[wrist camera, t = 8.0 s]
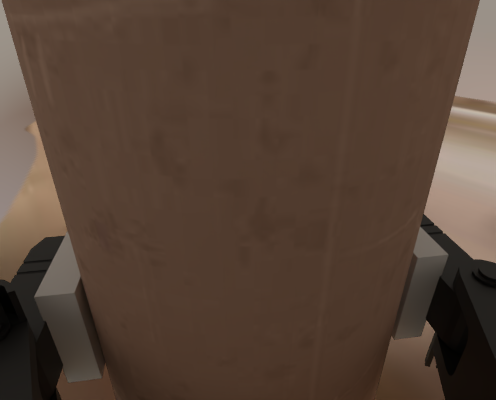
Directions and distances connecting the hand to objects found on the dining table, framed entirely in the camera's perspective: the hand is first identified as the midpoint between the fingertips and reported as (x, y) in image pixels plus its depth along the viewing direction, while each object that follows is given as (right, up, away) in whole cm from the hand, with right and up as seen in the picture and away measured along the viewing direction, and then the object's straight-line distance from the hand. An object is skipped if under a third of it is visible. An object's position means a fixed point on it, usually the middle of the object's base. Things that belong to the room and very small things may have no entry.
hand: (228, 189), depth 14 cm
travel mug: (+1, -12, +1) cm, 12 cm away
